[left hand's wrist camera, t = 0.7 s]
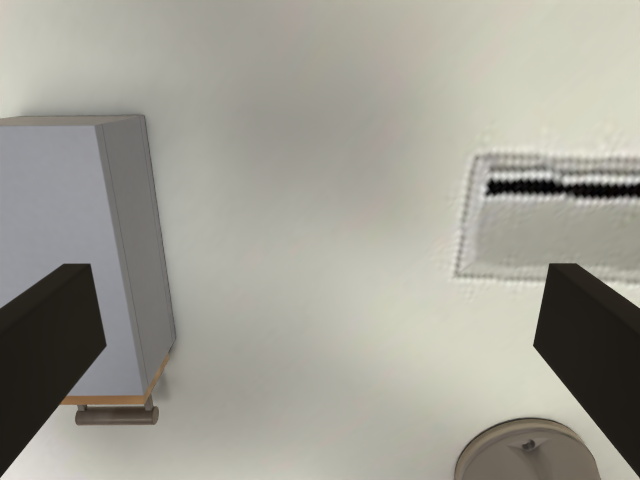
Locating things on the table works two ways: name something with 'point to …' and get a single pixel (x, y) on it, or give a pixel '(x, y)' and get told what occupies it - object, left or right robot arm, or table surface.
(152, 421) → the drawer
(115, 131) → the cabinet
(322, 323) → the table surface
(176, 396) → the table surface
